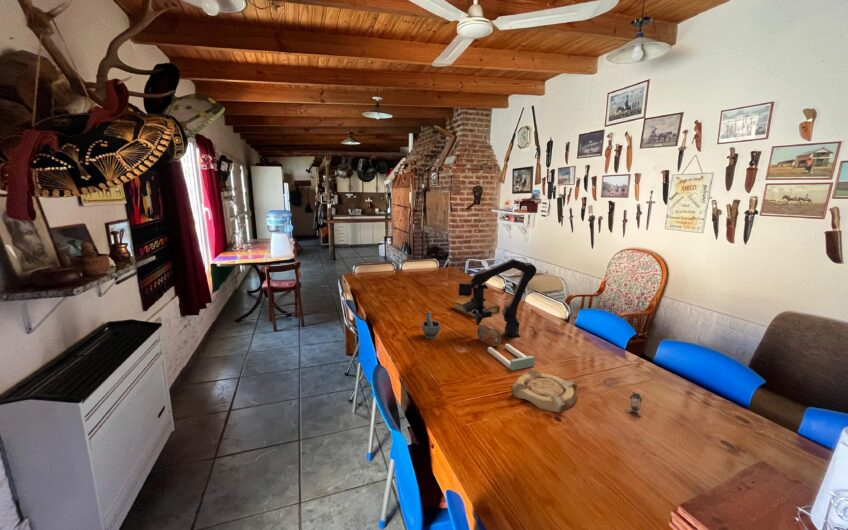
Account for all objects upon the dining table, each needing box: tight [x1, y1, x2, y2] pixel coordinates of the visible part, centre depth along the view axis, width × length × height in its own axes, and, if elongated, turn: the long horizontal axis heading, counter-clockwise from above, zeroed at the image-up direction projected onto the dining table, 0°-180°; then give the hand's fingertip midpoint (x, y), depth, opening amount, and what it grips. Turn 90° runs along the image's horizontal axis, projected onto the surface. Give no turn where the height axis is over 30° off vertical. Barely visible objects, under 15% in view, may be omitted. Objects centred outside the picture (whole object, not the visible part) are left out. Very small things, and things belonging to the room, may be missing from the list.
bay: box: [487, 343, 535, 371], centre depth 154 cm, size 11×20×4 cm, turn 20°
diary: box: [452, 296, 501, 318], centre depth 219 cm, size 23×19×6 cm
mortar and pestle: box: [421, 311, 442, 340], centre depth 178 cm, size 11×9×12 cm
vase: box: [623, 391, 643, 417], centre depth 117 cm, size 5×5×6 cm
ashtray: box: [511, 368, 579, 413], centre depth 127 cm, size 24×24×5 cm
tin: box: [477, 324, 502, 348], centre depth 170 cm, size 15×3×8 cm, turn 31°
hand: (477, 325), depth 181 cm, fingers closed
